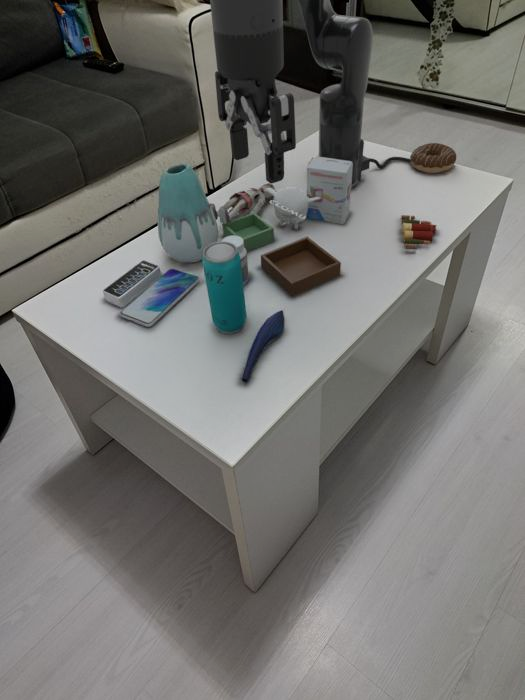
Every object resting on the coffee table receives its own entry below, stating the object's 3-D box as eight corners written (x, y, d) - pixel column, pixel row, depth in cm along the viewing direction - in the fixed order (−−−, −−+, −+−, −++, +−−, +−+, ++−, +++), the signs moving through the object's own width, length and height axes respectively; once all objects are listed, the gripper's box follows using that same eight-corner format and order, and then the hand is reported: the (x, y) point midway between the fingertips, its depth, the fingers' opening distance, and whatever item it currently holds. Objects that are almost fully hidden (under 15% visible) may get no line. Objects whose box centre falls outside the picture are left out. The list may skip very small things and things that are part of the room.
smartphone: (117, 313, 87) (170, 267, 96) (119, 317, 88) (171, 271, 96) (149, 325, 84) (200, 276, 93) (150, 329, 85) (201, 280, 93)
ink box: (305, 219, 107) (305, 166, 98) (312, 207, 110) (313, 155, 102) (343, 225, 104) (347, 171, 96) (350, 213, 107) (354, 160, 99)
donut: (463, 170, 118) (467, 153, 115) (423, 179, 116) (426, 162, 113) (439, 153, 125) (442, 137, 122) (401, 161, 123) (403, 145, 120)
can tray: (307, 249, 99) (307, 236, 97) (340, 275, 92) (341, 262, 90) (261, 268, 95) (260, 255, 93) (292, 297, 89) (291, 283, 87)
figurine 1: (203, 202, 100) (260, 174, 113) (205, 228, 104) (261, 199, 117) (226, 207, 98) (282, 179, 110) (228, 235, 101) (282, 204, 114)
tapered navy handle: (253, 389, 76) (255, 380, 74) (232, 380, 76) (233, 371, 74) (290, 318, 85) (292, 309, 83) (271, 311, 85) (273, 301, 83)
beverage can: (225, 310, 87) (214, 236, 77) (253, 319, 85) (246, 245, 74) (207, 330, 84) (193, 256, 73) (235, 340, 82) (225, 266, 71)
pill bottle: (219, 284, 93) (213, 246, 87) (230, 269, 96) (225, 232, 90) (242, 289, 91) (238, 250, 85) (253, 274, 94) (249, 236, 88)
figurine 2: (273, 217, 111) (253, 225, 103) (277, 178, 107) (257, 184, 99) (324, 228, 107) (307, 237, 99) (330, 188, 103) (313, 194, 95)
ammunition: (404, 252, 96) (438, 254, 95) (406, 243, 94) (441, 244, 94) (400, 220, 104) (431, 222, 104) (402, 211, 103) (434, 212, 102)
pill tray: (255, 224, 106) (254, 212, 104) (274, 240, 102) (273, 228, 100) (223, 236, 104) (222, 223, 102) (241, 253, 99) (240, 240, 97)
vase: (152, 255, 101) (130, 170, 88) (194, 230, 106) (179, 147, 93) (189, 277, 95) (172, 189, 82) (232, 249, 100) (222, 164, 88)
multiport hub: (105, 300, 91) (101, 290, 90) (145, 269, 97) (143, 259, 96) (122, 308, 89) (118, 298, 88) (162, 275, 95) (160, 265, 94)
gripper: (316, 27, 50) (313, 180, 61) (244, 6, 59) (253, 143, 70) (252, 42, 47) (261, 199, 59) (187, 17, 56) (206, 158, 67)
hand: (257, 168), depth 64 cm, fingers open, 8 cm apart
